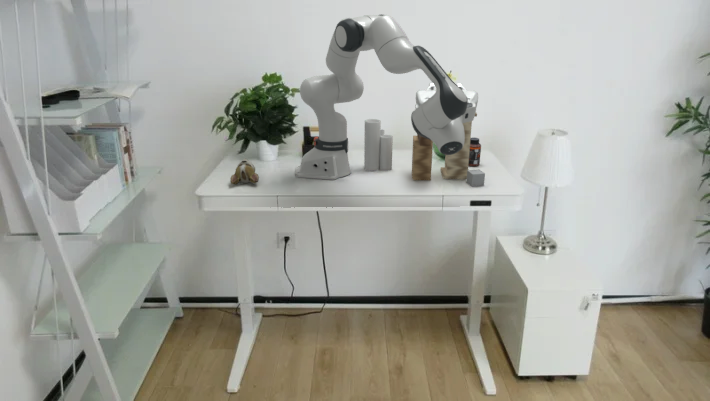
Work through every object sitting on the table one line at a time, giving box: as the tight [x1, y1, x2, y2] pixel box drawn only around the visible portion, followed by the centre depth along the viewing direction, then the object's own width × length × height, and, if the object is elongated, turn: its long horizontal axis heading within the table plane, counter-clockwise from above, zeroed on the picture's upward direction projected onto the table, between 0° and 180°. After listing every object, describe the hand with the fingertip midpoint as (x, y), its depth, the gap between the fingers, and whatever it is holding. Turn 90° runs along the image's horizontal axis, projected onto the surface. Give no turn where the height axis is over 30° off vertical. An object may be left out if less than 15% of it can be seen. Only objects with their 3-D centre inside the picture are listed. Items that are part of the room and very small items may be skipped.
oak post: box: [411, 135, 434, 181], centre depth 214 cm, size 7×7×16 cm
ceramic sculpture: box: [229, 157, 260, 185], centre depth 212 cm, size 11×9×15 cm
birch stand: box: [439, 112, 478, 180], centre depth 215 cm, size 11×10×26 cm
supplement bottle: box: [468, 137, 482, 167], centre depth 230 cm, size 6×6×11 cm
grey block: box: [465, 168, 486, 188], centre depth 209 cm, size 5×5×5 cm
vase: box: [363, 118, 394, 172], centre depth 224 cm, size 11×7×20 cm, turn 97°
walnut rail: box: [416, 133, 431, 146], centre depth 210 cm, size 4×20×4 cm, turn 178°
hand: (445, 84), depth 185 cm, fingers open, 8 cm apart
